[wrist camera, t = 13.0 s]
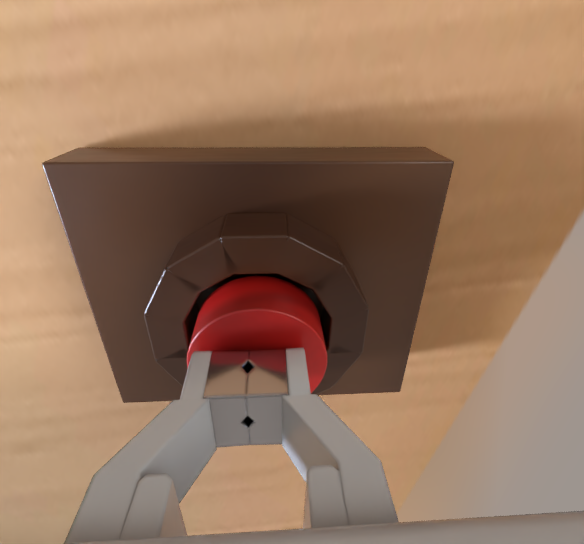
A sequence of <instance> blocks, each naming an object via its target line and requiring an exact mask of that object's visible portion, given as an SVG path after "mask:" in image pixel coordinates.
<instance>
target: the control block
mask: <svg viewBox="0 0 584 544" xmlns="http://www.w3.org/2000/svg"><path fill="white" fill-rule="evenodd" d="M453 164H454V162H453V161H452V160H450V159H448V158H446V157H444V156H442V155H440V154H438V153H436V152H434V151H432V150H430V149H428V148H426V147H343V148H77V149H74V150H72V151H70V152H67V153H65V154H62V155H60V156H57V157H55V158H53V159H50V160H48V161H45V162H43V163H42V166H43V169H44V171H45V174H46V177H47V180H48V183H49V186H50V189H51V192H52V195H53V198H54V201H55V204H56V207H57V210H58V213H59V215H60V218H61V221H62V224H63V227H64V230H65V233H66V236H67V239H68V242H69V245H70V248H71V251H72V254H73V257H74V259H75V262H76V265H77V268H78V271H79V274H80V277H81V280H82V283H83V286H84V289H85V292H86V295H87V298H88V301H89V303H90V306H91V309H92V312H93V315H94V318H95V321H96V324H97V327H98V330H99V333H100V336H101V339H102V342H103V344H104V347H105V350H106V353H107V356H108V359H109V362H110V365H111V368H112V371H113V374H114V377H115V380H116V383H117V386H118V388H119V391H120V394H121V397H122V400H123V402H124V403H127V402H153V401H173V400H180V396H181V392H182V389H183V385H184V381H185V377H186V374H187V370H188V368H187V352H188V348H189V345H190V341H191V338H192V334H193V331H194V327H195V324H196V320H197V317H198V314H199V311H200V308H201V306H202V304H203V303H204V301H205V300H206V299H207V297H208V296H209V295H210V294H211V293H212V292H214V291H215V290H216V289H217V288H219V287H220V286H222V285H224V284H226V283H228V282H230V281H232V280H235V279H239V278H243V277H248V276H268V277H275V278H278V279H282V280H285V281H287V282H290V283H292V284H293V285H295V286H297V287H298V288H300V289H301V290H303V291H304V292H305V293H306V294H307V295H308V296H309V297H310V298H311V300H312V301H313V302H314V304H315V306H316V308H317V310H318V313H319V316H320V321H321V326H322V331H323V336H324V341H325V346H326V351H327V368H326V371H325V374H324V377H323V379H322V381H321V382H320V384H319V385H318V387H317V388H316V389H315V390H314V391H313V392H312V393H311V394H317V395H332V394H357V393H383V392H400V389H401V385H402V381H403V377H404V372H405V368H406V364H407V360H408V355H409V351H410V347H411V343H412V338H413V334H414V330H415V326H416V321H417V317H418V313H419V309H420V304H421V300H422V296H423V292H424V287H425V283H426V279H427V275H428V270H429V266H430V262H431V258H432V253H433V249H434V245H435V240H436V236H437V232H438V228H439V223H440V219H441V215H442V211H443V206H444V202H445V198H446V194H447V189H448V185H449V181H450V177H451V172H452V168H453Z"/></svg>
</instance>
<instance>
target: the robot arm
mask: <svg viewBox="0 0 584 544" xmlns="http://www.w3.org/2000/svg"><path fill="white" fill-rule="evenodd" d="M267 444H282V446H283V448H284V449H285V451H286V452H287V454H288V455H289V457H290V459H291V460H292V462H293V463H294V465H295V466H296V468H297V470H298V471H299V473H300V474H301V476H302V477H303V479H304V480H305V482H306V490H305V505H304V521H303V529H287V530H271V531H255V532H239V533H224V534H208V535H192V536H187V532H186V529H185V525H184V521H183V517H182V514H181V510H180V506H179V503H180V502H181V500H182V499H183V497H184V496H185V495H186V493H187V492H188V490H189V489H190V487H191V486H192V484H193V483H194V481H195V480H196V479H197V477H198V476H199V474H200V473H201V471H202V470H203V468H204V467H205V466H206V464H207V463H208V461H209V460H210V458H211V457H212V455H213V454H214V452H215V451H216V450H217V449H216V447H228V446H241V445H267ZM64 544H584V511H574V512H558V513H542V514H526V515H512V516H511V515H510V516H494V517H480V518H479V517H478V518H464V519H463V518H462V519H447V520H431V521H416V522H402V523H401V522H398V518H397V515H396V511H395V508H394V504H393V501H392V497H391V494H390V491H389V487H388V484H387V480H386V477H385V473H384V470H383V466H382V463H381V461H380V459H379V458H378V457H377V456H376V455H375V454H374V453H373V452H372V451H371V450H370V449H369V448H368V447H367V446H366V445H365V444H364V443H363V442H362V441H361V440H360V439H359V438H358V437H357V436H356V435H355V434H354V433H353V432H352V431H351V429H350V428H349V427H348V426H347V425H346V424H345V423H344V422H343V421H342V420H341V419H340V418H339V417H338V416H337V415H336V414H335V413H334V412H333V411H332V410H331V409H330V408H329V407H328V406H327V405H326V404H325V403H324V402H323V401H322V399H321V398H320V397H319V396H318V395H317V394H311V392H310V384H309V377H308V370H307V363H306V355H305V350H304V348H286V349H263V350H213V351H194V352H193V354H192V355H191V359H190V362H189V366H188V370H187V374H186V377H185V381H184V385H183V389H182V392H181V396H180V400H173V401H172V402H171V403H170V404H169V405H168V406H167V407H166V408H165V409H163V410H162V411H161V412H160V413H159V414H158V415H157V416H156V417H155V418H154V419H153V420H152V421H151V422H150V423H149V424H147V425H146V426H145V427H144V428H143V429H142V430H141V431H140V432H139V433H138V434H137V435H136V436H135V437H134V438H133V439H131V440H130V441H129V442H128V443H127V444H126V445H125V446H124V447H123V448H122V449H121V450H120V451H119V452H118V453H117V454H115V455H114V456H113V457H112V458H111V459H110V460H109V461H108V462H107V463H106V464H105V465H104V466H103V467H102V468H101V469H99V470H98V471H97V472H96V473H95V474H94V475H93V478H92V480H91V482H90V484H89V487H88V489H87V491H86V494H85V496H84V498H83V501H82V503H81V505H80V508H79V510H78V512H77V515H76V517H75V519H74V521H73V524H72V526H71V528H70V531H69V533H68V535H67V538H66V540H65V542H64Z"/></svg>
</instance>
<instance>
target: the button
mask: <svg viewBox="0 0 584 544" xmlns="http://www.w3.org/2000/svg"><path fill="white" fill-rule="evenodd" d="M286 348H304V350H305V355H306V363H307V370H308V377H309V384H310V392H311V393H312V392H313V391H314V390H315V389H316V388H317V387H318V385H319V384H320V382H321V381H322V379H323V377H324V374H325V371H326V368H327V351H326V346H325V341H324V336H323V331H322V326H321V321H320V316H319V313H318V310H317V308H316V306H315V304H314V302H313V301H312V300H311V298H310V297H309V296H308V295H307V294H306V293H305V292H304V291H303V290H301V289H300V288H298V287H297V286H295V285H293V284H292V283H290V282H287V281H285V280H282V279H278V278H275V277H268V276H248V277H243V278H239V279H235V280H232V281H230V282H228V283H226V284H224V285H222V286H220V287H219V288H217V289H216V290H215V291H214V292H212V293H211V294H210V295H209V296H208V297H207V299H206V300H205V301H204V303H203V304H202V306H201V308H200V311H199V314H198V317H197V320H196V324H195V327H194V331H193V334H192V338H191V341H190V345H189V348H188V352H187V368H188V366H189V362H190V359H191V355H192V354H193V352H194V351H213V350H263V349H286Z"/></svg>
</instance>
